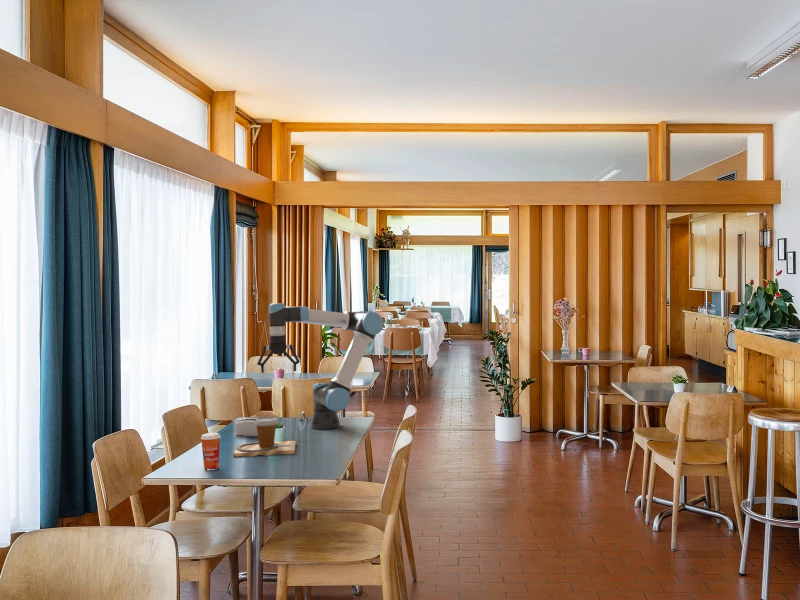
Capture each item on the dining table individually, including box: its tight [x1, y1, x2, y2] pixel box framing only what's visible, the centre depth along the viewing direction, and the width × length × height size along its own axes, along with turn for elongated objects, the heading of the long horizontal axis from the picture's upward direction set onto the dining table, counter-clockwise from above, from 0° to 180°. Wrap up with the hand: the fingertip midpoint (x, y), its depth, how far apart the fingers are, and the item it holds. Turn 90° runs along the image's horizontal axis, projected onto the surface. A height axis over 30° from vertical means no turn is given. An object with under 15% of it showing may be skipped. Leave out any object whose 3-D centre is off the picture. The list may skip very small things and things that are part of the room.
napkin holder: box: [234, 417, 259, 437], centre depth 345 cm, size 17×5×10 cm, turn 78°
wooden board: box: [233, 440, 297, 457], centre depth 310 cm, size 26×20×2 cm
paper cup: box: [200, 432, 221, 469], centre depth 279 cm, size 8×8×14 cm
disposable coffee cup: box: [255, 417, 278, 448], centre depth 310 cm, size 10×10×12 cm
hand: (279, 378), depth 337 cm, fingers open, 13 cm apart
